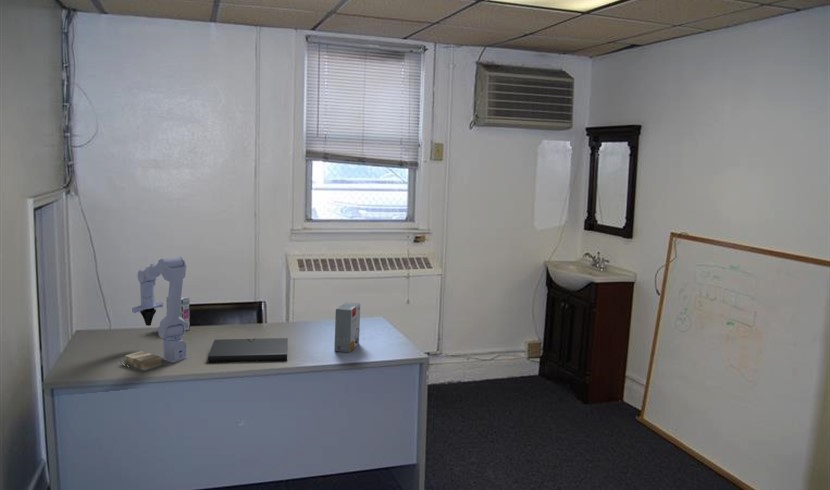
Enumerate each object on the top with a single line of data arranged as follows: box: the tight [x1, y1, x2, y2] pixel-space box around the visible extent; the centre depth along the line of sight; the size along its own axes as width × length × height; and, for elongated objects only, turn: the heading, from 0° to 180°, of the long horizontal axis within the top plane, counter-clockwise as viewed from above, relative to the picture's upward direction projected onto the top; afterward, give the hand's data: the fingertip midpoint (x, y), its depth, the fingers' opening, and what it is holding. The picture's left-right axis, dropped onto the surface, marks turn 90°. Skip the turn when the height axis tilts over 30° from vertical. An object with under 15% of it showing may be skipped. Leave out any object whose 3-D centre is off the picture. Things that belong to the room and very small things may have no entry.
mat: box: [120, 359, 169, 374], centre depth 274 cm, size 20×12×1 cm, turn 57°
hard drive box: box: [333, 301, 361, 353], centre depth 305 cm, size 16×8×20 cm, turn 168°
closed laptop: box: [207, 337, 289, 364], centre depth 293 cm, size 33×4×24 cm
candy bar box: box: [166, 296, 191, 332], centre depth 325 cm, size 11×5×16 cm, turn 62°
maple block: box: [124, 350, 163, 370], centre depth 273 cm, size 4×8×13 cm
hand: (148, 325), depth 296 cm, fingers closed
